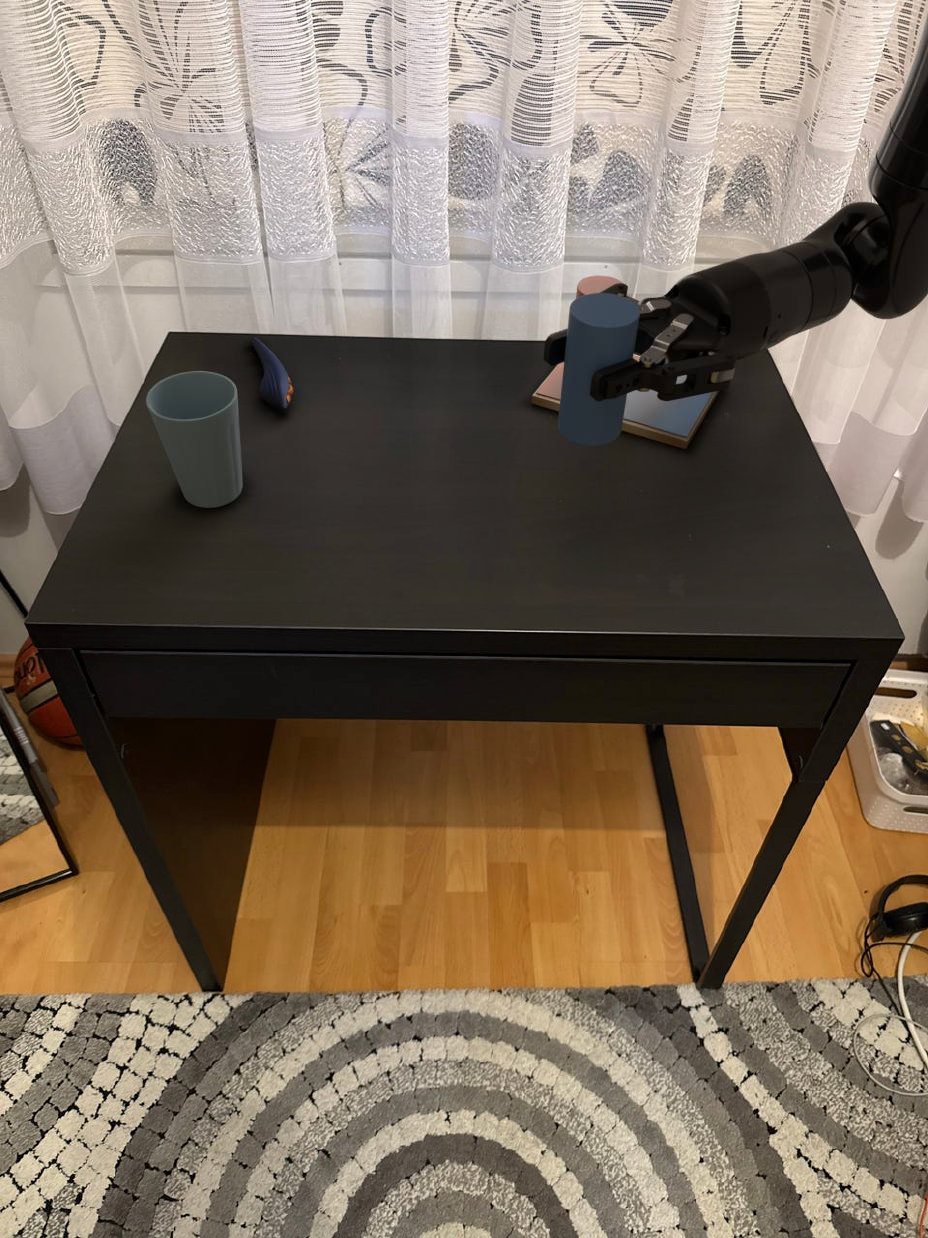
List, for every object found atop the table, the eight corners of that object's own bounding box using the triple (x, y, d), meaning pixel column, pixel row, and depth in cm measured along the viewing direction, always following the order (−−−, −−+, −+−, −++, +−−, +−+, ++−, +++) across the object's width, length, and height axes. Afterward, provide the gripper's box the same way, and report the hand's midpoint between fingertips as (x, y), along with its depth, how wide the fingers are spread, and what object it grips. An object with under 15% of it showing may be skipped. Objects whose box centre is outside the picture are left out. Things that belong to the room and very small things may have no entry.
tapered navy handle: (244, 355, 106) (236, 336, 104) (273, 344, 106) (265, 325, 104) (272, 424, 95) (264, 404, 93) (304, 411, 95) (296, 391, 94)
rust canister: (620, 369, 101) (634, 282, 94) (603, 391, 98) (616, 303, 91) (577, 357, 103) (588, 270, 95) (560, 379, 100) (569, 291, 92)
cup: (237, 455, 91) (218, 361, 84) (267, 499, 87) (250, 404, 79) (161, 479, 89) (135, 384, 81) (188, 525, 84) (163, 430, 76)
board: (722, 386, 101) (724, 377, 101) (685, 449, 93) (687, 440, 93) (577, 346, 106) (578, 337, 106) (531, 403, 98) (532, 394, 98)
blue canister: (630, 419, 74) (649, 302, 67) (607, 452, 71) (625, 333, 64) (572, 403, 76) (585, 286, 69) (547, 434, 73) (558, 316, 65)
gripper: (685, 229, 76) (516, 281, 69) (820, 302, 68) (641, 369, 61) (669, 314, 81) (511, 369, 75) (792, 392, 73) (625, 461, 67)
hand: (570, 369), depth 68 cm, fingers closed on blue canister, 5 cm apart
